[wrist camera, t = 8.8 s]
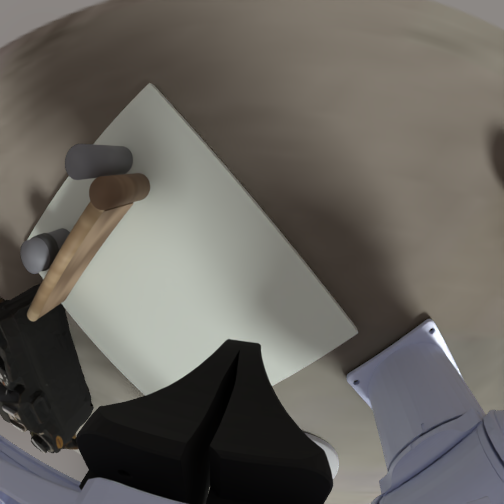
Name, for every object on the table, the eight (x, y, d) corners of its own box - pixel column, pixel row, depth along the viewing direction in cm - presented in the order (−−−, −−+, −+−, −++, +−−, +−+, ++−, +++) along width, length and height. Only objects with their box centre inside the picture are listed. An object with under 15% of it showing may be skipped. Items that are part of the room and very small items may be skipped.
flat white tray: (356, 327, 21) (372, 373, 16) (185, 423, 26) (168, 466, 20) (154, 85, 18) (112, 63, 13) (28, 246, 23) (-16, 263, 17)
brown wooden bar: (137, 167, 19) (101, 169, 14) (155, 186, 19) (121, 192, 15) (52, 291, 22) (20, 312, 18) (65, 307, 22) (34, 329, 18)
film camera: (-10, 287, 25) (-71, 321, 16) (47, 259, 23) (-36, 301, 13) (59, 415, 29) (19, 465, 20) (131, 419, 27) (89, 488, 17)
